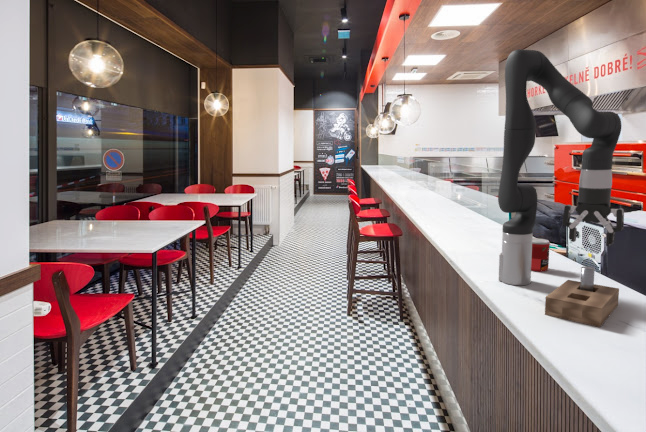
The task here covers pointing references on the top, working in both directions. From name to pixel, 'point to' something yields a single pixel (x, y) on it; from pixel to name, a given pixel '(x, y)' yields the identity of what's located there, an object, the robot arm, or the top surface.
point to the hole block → (582, 303)
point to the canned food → (540, 255)
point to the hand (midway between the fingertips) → (590, 243)
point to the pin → (587, 278)
